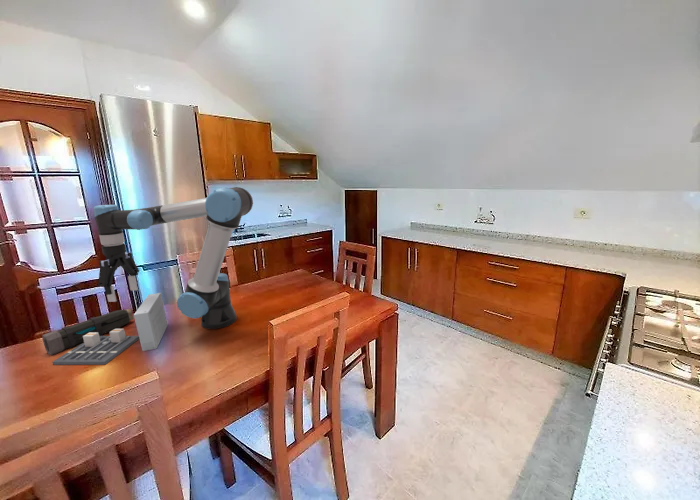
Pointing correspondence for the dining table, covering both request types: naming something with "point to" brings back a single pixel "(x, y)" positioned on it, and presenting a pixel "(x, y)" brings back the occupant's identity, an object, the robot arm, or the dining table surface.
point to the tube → (85, 330)
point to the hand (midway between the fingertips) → (123, 295)
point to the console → (95, 352)
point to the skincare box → (151, 321)
